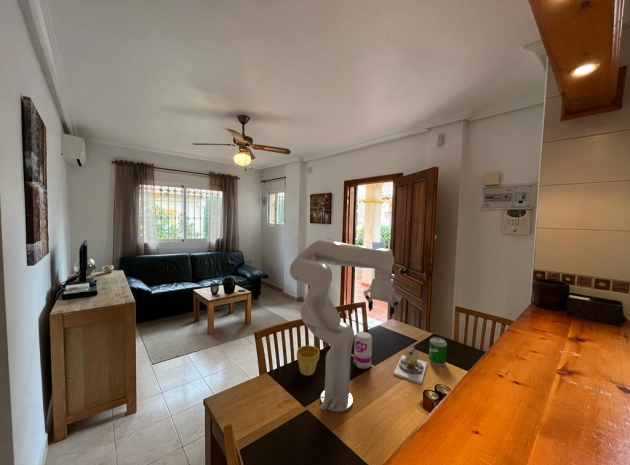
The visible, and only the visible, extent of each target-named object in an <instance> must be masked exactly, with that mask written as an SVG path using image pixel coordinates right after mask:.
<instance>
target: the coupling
mask: <svg viewBox="0 0 630 465" xmlns="http://www.w3.org/2000/svg"><path fill="white" fill-rule="evenodd" d="M415 348H416V347H415V346H413V345H412V346H411V347H410V348H406V349H405V356H406V361H405V366H406V367H407V368H410V369H417V359H418V355H419V352H418V350H416V349H415Z"/></svg>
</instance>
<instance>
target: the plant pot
mask: <svg viewBox="0 0 630 465" xmlns="http://www.w3.org/2000/svg"><path fill="white" fill-rule="evenodd" d="M296 360H297V362H298V366H299V372H300V373H301V375H302V376H311V375H313V374H314V373H315V371H316V367H317V363H318V361H319V360H320V349H319V348H318V347H317V346H314V345H303V346H300V347H298V348H297V350H296Z"/></svg>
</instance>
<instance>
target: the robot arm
mask: <svg viewBox="0 0 630 465" xmlns="http://www.w3.org/2000/svg"><path fill="white" fill-rule="evenodd" d="M394 263H395V257H394V254H393V250H392V249H390V248H385V247H384V248H383V247H382V248H381V247H380V248H377V249H374V248H369V247H367V246H366V247H365V246H363V245H358V244H350V243H345V242H341V241H340V242H339V241H333V240H325V239H318V240H316V241H314V242H313V243H312V244H310V245H308V246H307V248H305V249H304V250H303V251H302V252H301V253H300V254H299V255H297V256H296V258H294V260H293V261H292V262H291V263H290V266H289V275H290V276H291V278H292V279H293V280H294V281H296V282H297V283H301V284H304V285H308V286H309V287H308V290H307V293H306V296H305V298H304V302H303V303H302V305H301V307H300V317H301V319H302V322H303V323H304V324H305V326H306V327H307V328H308V330H309V331H310V332H311V334H313V336H314V337H316V338H317V339H319V340H321V341H323V342H324V343H326V344H328V345H329V346H330V349H329V350H328V351H327V352H326V355H325V366H324V367H325V372H324V374H325V375H324V376H325V377H324V390H323V391H322V392H321V394H320V399H319V401H320V403H321V404H320V405H319V406H320V409H321V410H323V411H325V410H328V411H329V412H333V413H343V412H346V411H348V410H350V409H351V408H352V406H353V401H354V399H353V395H352V394H351V393H350V383H351V380H350V378H351V357H352V348H353V344H354V342H355V332H354V329H353V328H352V326H351V325H350V324H347V323H346V322H345V321H341V317H340V314H339V311H338V310H337V308H336V307H335V304H333V301H332V300H331V299H330V296H329V290H330V287H331V284H332V280H333V272H332V270H331V268H330V267H329V266H328V265H331V266H332V265H333V266H341V267H355V268H361V269H362V268H364V269H374V274H373V275H374V276H373V277H372V279H371V283H370V284H371V285H370V288H369V289H367V290H363V295H364V298H365V299H366V300H367V302H368V304H367V306H368V307H367V308H368V311H369V312H371V311H373V308H374V307H373V306H374V301H373V300H375V301H379V302H383V303H388V304H390V310H389V316H393V314H395V311H396V310H395V309H396V308H395V307H396V306H397V305H399V304H400V302H401V301H402V297H401V296H400V295H398V294H397V293H396V292H395V283H394V279H395V277H396V275H395V274H393V266H394ZM327 264H328V265H327ZM368 294H369V295H368ZM394 299H396V301H394Z"/></svg>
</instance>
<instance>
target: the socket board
mask: <svg viewBox="0 0 630 465" xmlns="http://www.w3.org/2000/svg"><path fill="white" fill-rule="evenodd" d="M405 361H406V355H404V354H401V356H400V358H399V361H398V363H397V366H396V367H395V369H394V372H393V376H396V377H398V378H402V379H405V380H408V381H411V382H413V383H417V384H418V385H419V384H420V385H422V384H423V381H424V377H425V373H426V370H427V368H428V367H427V366H428V362H427V361H424V360H421V359H418V358H417V369H410V368H407V367H406V366H405Z"/></svg>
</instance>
